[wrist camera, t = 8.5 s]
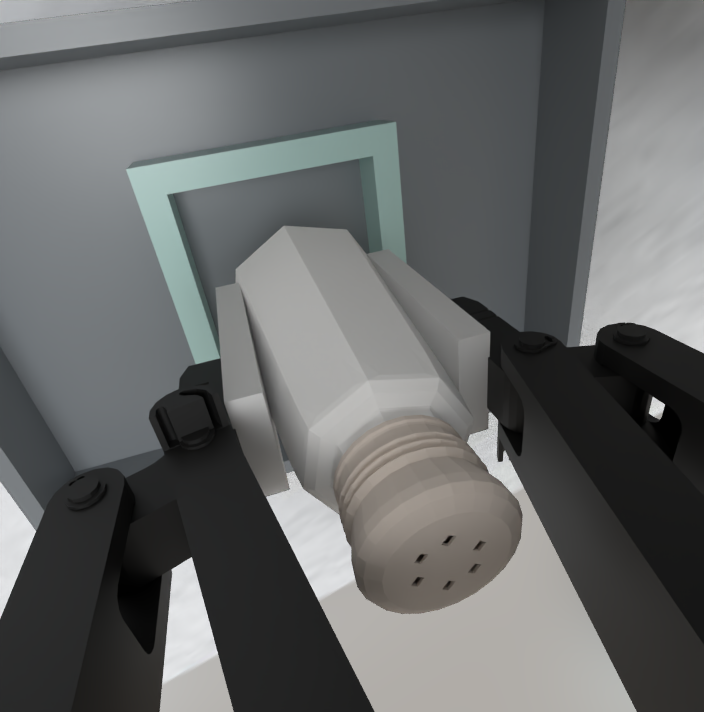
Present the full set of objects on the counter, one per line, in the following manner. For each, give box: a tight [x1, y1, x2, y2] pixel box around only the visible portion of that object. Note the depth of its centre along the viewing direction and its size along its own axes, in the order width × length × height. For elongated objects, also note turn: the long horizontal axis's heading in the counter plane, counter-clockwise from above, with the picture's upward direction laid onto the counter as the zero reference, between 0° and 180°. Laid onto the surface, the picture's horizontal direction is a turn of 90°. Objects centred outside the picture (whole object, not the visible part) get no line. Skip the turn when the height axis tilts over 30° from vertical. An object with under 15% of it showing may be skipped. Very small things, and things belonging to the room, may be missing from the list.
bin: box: [0, 0, 626, 531], centre depth 19 cm, size 17×25×4 cm
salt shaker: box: [236, 226, 522, 614], centre depth 12 cm, size 5×5×11 cm
